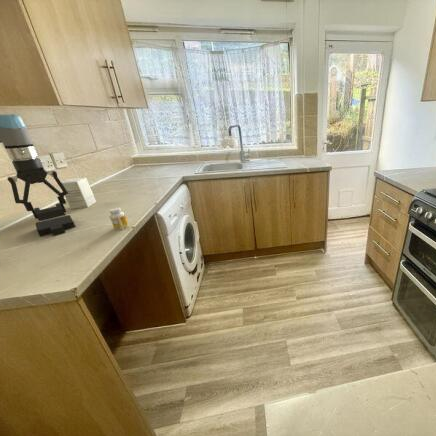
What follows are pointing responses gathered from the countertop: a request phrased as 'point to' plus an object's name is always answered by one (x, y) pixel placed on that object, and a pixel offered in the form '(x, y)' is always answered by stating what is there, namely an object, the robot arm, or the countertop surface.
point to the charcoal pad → (55, 225)
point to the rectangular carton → (78, 193)
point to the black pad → (49, 212)
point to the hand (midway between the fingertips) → (51, 214)
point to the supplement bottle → (118, 219)
